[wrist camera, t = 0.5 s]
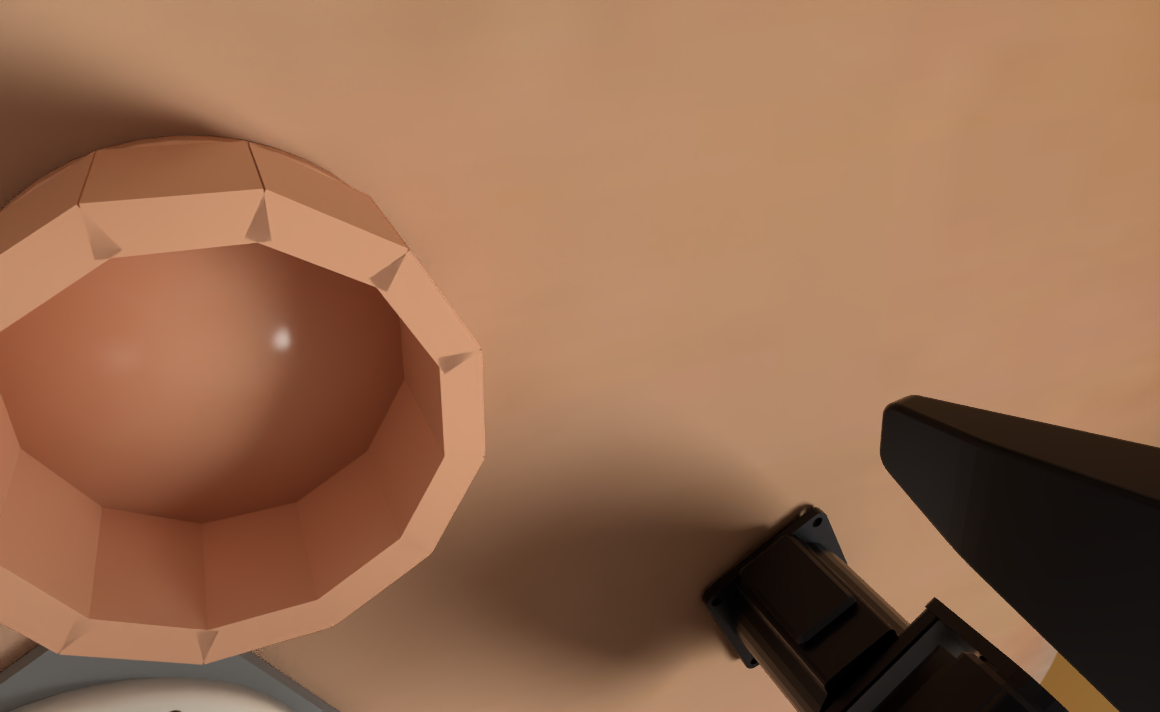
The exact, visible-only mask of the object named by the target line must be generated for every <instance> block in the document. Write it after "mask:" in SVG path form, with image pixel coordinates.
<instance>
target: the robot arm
mask: <svg viewBox="0 0 1160 712" xmlns="http://www.w3.org/2000/svg"><path fill="white" fill-rule="evenodd" d="M880 456H881V460H882V463H883V465H884V466H885V468H886V470H887V471H888V472H889V474H890V475H891V476H892V477H893V478H894V479H895V481H896V482H897V483H898V484H899V485H900V486H901V488H902V489H903V490H904V491H905V492H906V494H907V495H908V496H909V497H910V498H911V499H912V501H913V502H914V503H915V504H916V505H917V507H918V508H919V509H920V510H921V511H922V512H923V514H924V515H925V516H926V517H927V518H928V519H929V521H930V522H931V523H932V524H933V525H934V527H935V528H936V529H937V530H938V531H939V532H940V534H941V535H942V536H943V537H944V538H945V540H946V541H947V542H948V543H949V544H950V545H951V546H952V547H953V549H954V550H955V551H956V552H957V553H958V554H959V555H960V556H961V557H962V558H963V559H964V560H965V561H966V562H967V563H968V564H969V565H970V566H971V567H972V568H973V569H974V570H975V571H976V572H977V573H978V574H979V575H980V576H981V577H982V578H983V579H984V580H985V581H986V582H987V583H988V584H989V585H990V586H991V587H992V588H993V589H994V590H995V591H996V592H997V593H998V594H999V595H1000V596H1001V597H1002V598H1003V599H1004V600H1005V601H1006V602H1007V603H1008V604H1010V605H1011V606H1012V607H1013V608H1014V609H1015V610H1016V611H1017V612H1018V613H1019V614H1020V615H1021V616H1022V617H1023V618H1024V619H1025V620H1026V621H1027V622H1028V623H1029V624H1030V625H1031V626H1032V627H1033V628H1034V629H1035V630H1036V631H1037V632H1038V633H1039V634H1040V635H1041V636H1042V637H1043V638H1044V639H1045V640H1046V641H1048V642H1049V643H1050V644H1051V645H1052V646H1053V647H1054V648H1055V649H1056V650H1057V651H1058V652H1059V653H1060V654H1061V655H1062V656H1063V657H1064V658H1065V659H1066V660H1067V661H1068V662H1069V663H1070V664H1071V665H1072V666H1073V667H1074V668H1075V669H1077V671H1079V673H1080V674H1081V675H1083V676H1084V677H1085V678H1086V679H1087V680H1088V681H1089V682H1090V683H1091V684H1092V685H1093V686H1094V687H1095V688H1096V689H1097V690H1098V691H1099V692H1100V693H1101V694H1102V695H1103V696H1104V697H1105V698H1106V699H1107V700H1108V701H1109V702H1110V703H1111V704H1112V705H1113V706H1114V707H1115V708H1116V709H1117V710H1119V712H1160V448H1159V447H1154V446H1149V445H1145V444H1140V443H1135V442H1131V441H1126V440H1122V439H1117V438H1112V437H1108V436H1103V435H1098V434H1094V433H1089V432H1085V431H1080V430H1075V429H1071V428H1066V427H1062V426H1057V425H1052V424H1048V423H1043V422H1038V421H1034V420H1029V419H1025V418H1020V417H1015V416H1011V415H1006V414H1002V413H997V412H992V411H988V410H983V409H978V408H974V407H969V406H965V405H960V404H955V403H951V402H946V401H942V400H937V399H932V398H928V397H923V396H918V395H910V396H907V397H904V398H902V399H900V400H897V401H895V402H892V403H890V404H889V405H887V406H886V408H885V409H884V411H883V418H882V430H881V442H880ZM702 602H703V604H704V605H705V607H706V608H707V610H708V611H709V613H710V614H711V616H712V617H713V619H714V620H715V622H716V623H717V625H718V626H719V628H720V629H721V631H722V632H723V634H724V635H725V637H726V638H727V640H728V641H729V643H730V644H731V645H732V647H733V648H734V650H735V651H736V653H737V654H738V656H739V657H740V659H741V660H742V662H743V663H744V664H745V666H746V667H747V668H754V667H756V666H758V665H759V664H760V665H761V667H762V668H763V669H764V670H765V672H766V673H767V674H768V675H769V677H770V678H771V679H772V680H773V682H774V683H775V684H776V685H777V687H778V688H779V689H780V690H781V692H782V693H783V694H784V695H785V697H786V698H787V699H788V700H789V702H790V703H791V704H792V705H793V707H794V708H795V709H796V710H797V712H1069V711H1068V710H1067V709H1066V708H1065V707H1063V706H1062V705H1061V704H1060V703H1059V702H1058V701H1057V700H1056V699H1055V698H1054V697H1053V696H1052V695H1051V694H1049V692H1047V691H1046V690H1045V689H1044V688H1043V687H1042V686H1041V685H1040V684H1039V683H1038V682H1036V681H1035V680H1034V679H1033V678H1032V677H1031V676H1030V675H1029V674H1027V673H1026V672H1025V671H1024V670H1023V669H1022V668H1021V667H1019V666H1018V665H1017V664H1016V663H1015V662H1013V661H1012V660H1011V659H1010V658H1009V657H1007V656H1006V655H1005V654H1004V653H1002V652H1001V651H1000V650H999V649H998V648H996V647H995V646H994V645H993V644H991V643H990V642H989V641H988V640H987V639H985V638H984V637H983V636H982V635H980V634H979V633H978V632H977V631H976V630H974V629H973V628H972V627H971V626H970V625H968V624H967V623H966V622H965V621H963V620H962V619H961V618H960V617H959V616H957V615H956V614H955V613H954V612H952V611H951V610H950V609H949V608H948V607H946V606H945V605H944V604H943V603H941V602H940V601H939V600H938V599H937V598H935V597H934V598H933V599H932V600H931V601H930V602H929V603H928V604H927V605H926V606H925V607H926V609H925V610H924V611H923V612H922V613H921V614H920V615H919V616H918V617H917V618H916V619H915V620H914V621H913V622H912V623H911V624H910V623H908V622H907V621H906V620H905V619H904V618H903V617H902V616H901V615H900V614H899V613H898V612H897V611H896V610H895V609H894V608H892V607H891V606H890V605H889V604H888V603H887V602H886V601H885V600H884V599H883V598H882V597H881V596H880V595H879V594H878V593H877V592H875V591H874V590H873V589H872V588H871V587H870V586H869V585H868V584H867V583H866V582H865V581H864V580H863V579H862V578H861V577H859V576H858V575H857V574H856V573H855V572H854V571H853V570H852V569H851V568H850V567H849V566H848V565H847V562H846V560H845V558H844V555H843V553H842V550H841V548H840V546H839V543H838V541H837V539H836V536H835V534H834V532H833V529H832V527H831V525H830V522H829V520H828V518H827V515H826V514H825V513H824V512H823V511H822V510H820V509H819V508H817V507H815V508H812V509H810V510H808V511H807V512H806V513H805V514H803V515H802V516H801V517H799V518H798V519H797V520H796V521H794V522H793V523H792V524H791V525H789V526H788V527H787V528H785V529H784V530H783V531H782V532H780V533H779V534H778V535H777V536H775V537H774V538H773V539H771V540H770V541H769V542H768V543H766V544H765V545H764V546H763V547H761V548H760V549H759V550H757V551H756V552H755V553H754V554H752V555H751V556H750V557H748V558H747V559H746V560H745V561H743V562H742V563H741V564H740V565H738V566H737V567H736V568H734V569H733V570H732V571H731V572H729V573H728V574H727V575H726V576H724V577H723V578H722V579H720V580H719V581H718V582H717V583H715V584H714V585H713V586H712V587H710V588H709V589H708V590H707V591H706V592H705V593H704V595H703V596H702ZM170 712H181V711H179V710H173V711H170Z"/></svg>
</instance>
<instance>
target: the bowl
mask: <svg viewBox="0 0 1160 712" xmlns="http://www.w3.org/2000/svg"><path fill="white" fill-rule="evenodd" d="M484 456H485V428H484V394H483V359H482V349H481V347H480V345H479V344H478V343H477V341H476V340H475V338H474V337H473V336H472V334H471V333H470V332H469V330H468V329H467V327H466V326H465V325H464V323H463V322H462V321H461V319H460V318H459V316H458V315H457V314H456V312H455V311H454V310H453V308H452V307H451V305H450V304H449V303H448V301H447V300H446V299H445V297H444V296H443V294H442V293H441V292H440V290H439V289H438V288H437V286H436V285H435V283H434V282H433V281H432V279H431V278H430V277H429V275H428V274H427V272H426V271H425V270H424V268H423V267H422V266H421V264H420V263H419V261H418V260H417V259H416V257H415V256H414V255H413V253H412V252H411V250H410V249H409V248H408V246H407V245H406V244H405V242H404V241H403V240H402V238H401V237H400V236H399V234H398V233H397V232H396V230H395V229H394V228H393V226H392V225H391V224H390V222H389V221H388V220H387V218H386V217H385V216H384V214H383V213H382V212H381V210H380V209H379V208H378V206H377V205H376V204H375V202H374V201H373V200H372V198H371V197H370V196H369V195H367V194H365V193H363V192H360V191H358V190H356V189H354V188H352V187H351V186H349V185H348V184H346V183H345V182H343V181H342V180H341V179H339V178H338V177H336V176H335V175H333V174H332V173H330V172H328V171H326V170H324V169H322V168H321V167H319V166H317V165H315V164H313V163H311V162H309V161H307V160H305V159H303V158H300V157H297V156H295V155H292V154H290V153H287V152H284V151H282V150H279V149H276V148H273V147H269V146H265V145H261V144H257V143H253V142H249V141H245V140H239V139H231V138H223V137H215V136H166V137H158V138H149V139H140V140H135V141H131V142H127V143H123V144H119V145H115V146H111V147H107V148H103V149H101V150H97V151H93V152H92V153H90V154H88V155H85V156H83V157H80V158H77V159H75V160H72V161H70V162H68V163H66V164H65V165H63V166H61V167H59V168H57V169H56V170H54V171H52V172H50V173H48V174H47V175H45V176H43V177H41V178H40V179H38V180H37V181H36V182H34V183H33V184H32V185H30V186H29V187H28V188H26V189H25V190H24V191H22V192H21V193H20V194H18V195H17V196H16V197H15V198H13V199H12V200H11V201H10V202H9V203H8V204H7V205H6V206H5V208H4V209H3V210H2V211H1V212H0V623H2V624H4V625H6V626H8V627H9V628H11V629H13V630H15V631H17V632H19V633H20V634H22V635H24V636H26V637H28V638H29V639H31V640H33V641H35V642H37V643H38V644H40V645H42V646H44V647H46V648H47V649H49V650H51V651H53V652H55V653H56V654H58V653H59V652H60V654H59V655H73V656H87V657H102V658H116V659H130V660H144V661H158V662H172V663H186V664H200V665H202V664H203V662H204V664H208V663H211V662H214V661H218V660H221V659H225V658H228V657H232V656H235V655H238V654H242V653H245V652H249V651H252V650H255V649H259V648H262V647H266V646H269V645H273V644H276V643H279V642H283V641H286V640H290V639H293V638H296V637H300V636H303V635H307V634H310V633H314V632H317V631H320V630H324V629H327V628H331V627H333V626H332V624H333V625H334V626H335V625H337V624H338V623H339V622H341V621H342V620H343V619H345V618H346V617H347V616H349V615H350V614H351V613H353V612H354V611H355V610H357V609H358V608H359V607H361V606H362V605H363V604H365V603H366V602H367V601H369V600H370V599H371V598H373V597H374V596H375V595H377V594H378V593H379V592H381V591H382V590H383V589H385V588H386V587H387V586H389V585H390V584H391V583H393V582H394V581H396V580H397V579H398V578H400V577H401V576H402V575H404V574H405V573H406V572H408V571H409V570H410V569H412V568H413V567H414V566H416V565H417V564H418V563H420V562H421V561H422V560H424V559H425V558H426V557H428V556H429V555H430V554H431V553H432V552H433V550H434V548H435V547H436V545H437V543H438V541H439V539H440V538H441V536H442V534H443V532H444V530H445V529H446V527H447V525H448V523H449V521H450V520H451V518H452V516H453V514H454V512H455V511H456V509H457V507H458V505H459V503H460V502H461V500H462V498H463V496H464V494H465V493H466V491H467V489H468V487H469V485H470V484H471V482H472V480H473V478H474V476H475V475H476V473H477V471H478V469H479V467H480V466H481V464H482V462H483V460H484V458H485V457H484ZM430 552H431V553H430Z"/></svg>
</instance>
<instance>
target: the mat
mask: <svg viewBox="0 0 1160 712" xmlns="http://www.w3.org/2000/svg"><path fill="white" fill-rule="evenodd" d="M59 654H60V652H59V653H58V654H56V653H55V652H53V651H51V650H49V649H47V648H46V647H44V646H42V645H39V646H37V647H36V648H34V649H33V650H32V651H30V652H29V653H27V654H26V655H25V656H23V657H22V658H20V659H19V660H18V661H16V662H15V663H13V664H12V665H11V666H9V667H8V668H7V669H5V670H4V671H2V672H1V673H0V712H10V711H12V710H14V709H17V708H19V707H21V706H24V705H27V704H30V703H33V702H36V701H39V700H42V699H45V698H48V697H51V696H54V695H57V694H60V693H64V692H68V691H72V690H77V689H81V688H85V687H89V686H93V685H98V684H105V683H111V682H117V681H123V680H131V679H144V678H157V677H185V678H200V679H209V680H218V681H224V682H228V683H232V684H237V685H241V686H246V687H248V688H251V689H254V690H257V691H260V692H262V693H265V694H268V695H270V696H271V697H273V698H275V699H277V700H279V701H281V702H283V703H285V704H286V705H288V706H289V707H290V708H291V709H293V710H294V711H295V712H339V711H338V710H336V709H335V708H333V707H332V706H330V705H329V704H327V703H326V702H324V701H323V700H321V699H320V698H318V697H317V696H315V695H314V694H312V693H311V692H309V691H308V690H306V689H305V688H304V687H302V686H301V685H299V684H298V683H296V682H295V681H293V680H292V679H290V678H289V677H287V676H286V675H284V674H283V673H281V672H280V671H278V670H277V669H275V668H274V667H272V666H271V665H269V664H268V663H267V662H265V661H264V660H262V659H261V658H259V657H258V656H256V655H255V654H253V653H252V652H250V651H249V652H245V653H242V654H238V655H235V656H232V657H228V658H225V659H221V660H218V661H214V662H211V663H208V664H204V662H203V664H202V665H200V664H186V663H172V662H158V661H144V660H130V659H116V658H102V657H87V656H73V655H59Z"/></svg>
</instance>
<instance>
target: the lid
mask: <svg viewBox="0 0 1160 712" xmlns="http://www.w3.org/2000/svg"><path fill="white" fill-rule="evenodd" d="M173 710H179V711H181V712H295V711H294V710H293V709H291V708H290V707H289V706H288V705H286V704H285V703H283V702H281V701H279V700H277V699H275V698H273V697H271V696H270V695H268V694H265V693H262V692H260V691H257V690H254V689H251V688H248V687H246V686H241V685H237V684H232V683H228V682H224V681H218V680H209V679H200V678H185V677H157V678H144V679H131V680H123V681H117V682H111V683H105V684H98V685H93V686H89V687H85V688H81V689H77V690H72V691H68V692H64V693H60V694H57V695H54V696H51V697H48V698H45V699H42V700H39V701H36V702H33V703H30V704H27V705H24V706H21V707H19V708H17V709H14V710H12V711H10V712H170V711H173Z"/></svg>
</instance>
